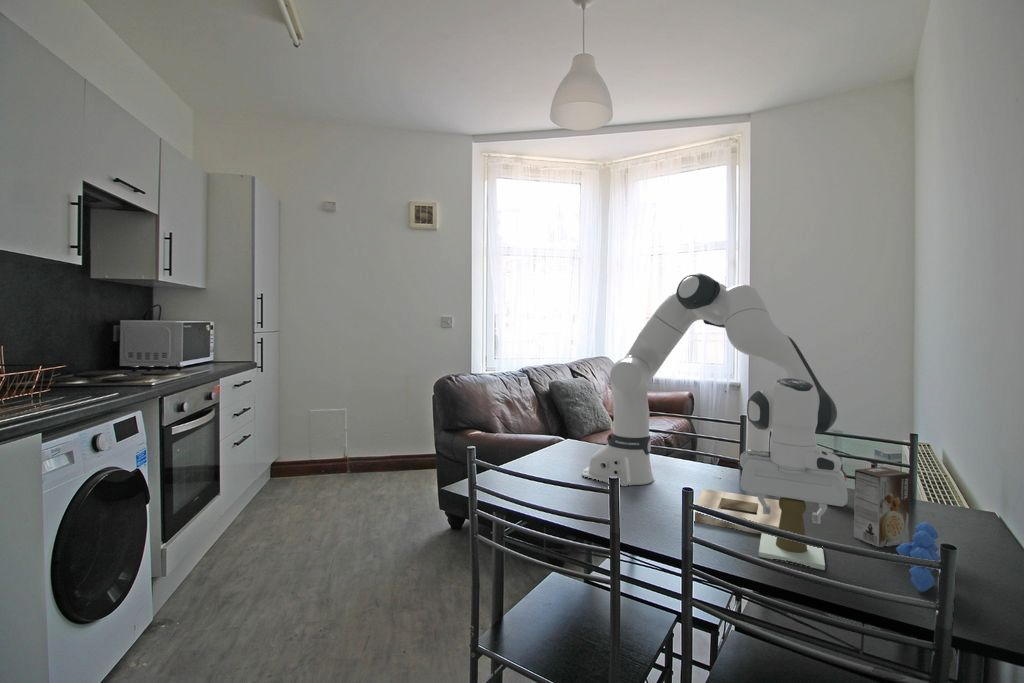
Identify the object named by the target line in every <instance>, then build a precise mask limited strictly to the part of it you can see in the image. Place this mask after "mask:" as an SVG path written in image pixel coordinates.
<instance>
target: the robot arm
mask: <svg viewBox="0 0 1024 683" xmlns="http://www.w3.org/2000/svg"><path fill="white" fill-rule="evenodd" d="M701 320H702V321H703V323H704V324H705V325H709V326H713V327H717V328H721V329H723V328H724V329H725V333H726V335H727V338H728V340H729V343H730V344H731V345H732V346H733V347H734V349H736V350H738V351H739V352H740V353H742V354H745V355H748V356H751V357H755V358H759V359H762V360H765V361H767V362H770V363H773V364H774V365H777V366H778V367H779V368H780V369H782V370H783V371H784V373H785V375H786V377H787V378H785V377H784V378H779V379H777V380H776V381H775V382H774V383H773V385H772V386H771V387H769V388H766V389H765V388H764V389H761V390H757V391H755V392H753V393H752V394H751V396H750V397H749V399H748V400H747V403H746V414H747V415H746V416H747V420H748V421H749V422H750V423H751V425H753V426H754V428H756V429H758V430H761V431H764V432H771V435H770V438H769V451H766V450H765V451H764V450H753V449H747V450H746V451H745V450H744V451H743V452H742V453H740V456H739V466H740V467H741V468H742V471H741V472H742V473H741V476H740V477H741V478H740V484H739V485H740V489H741V490H742V491H743V492H748V493H754V494H757V497H758V500H759V501H760V503H761V505H762V506H763V514H767V515H770V509H771V505H767V504H766V502H765V500H764V499H765V498H766V496H773V497H778V498H781V497H784V498H790V499H797V500H803V501H805V502H811V503H815V504H816V503H817V504H818V508H819V509H818V510H817V511H816V512H814V511H812V516H811V518H812V520H811V521H812V523H813V524H818V525H819V524H821V521H822V519H821V517H822V516H823V515H824V514H825V512H826V511H827V510H828V506H832V505H836V506H835V507H845V506H846V505H847V504H848V501H849V499H848V497H849V496H848V488H847V487H848V486H847V480H846V481H845V477H844V475H843V472H842V471H841V463H842V461H841V459H840V457H839V456H838V455H837V454H835V453H831V452H828V451H826V450H823V449H821V448H818V442H817V438H816V435H823V434H824V433H825V432H827V431H828V430H829V429H831V427H832V426H833V425H834V424H835V422H836V420H837V417H838V416H837V415H838V412H837V407H836V404H835V402H834V400H833V399H832V397H831V396H830V394H829V393H828V392H827V391H826V390H825V389H824V388H823V386H822V385H821V384H820V382H819V380H818V378H817V377H816V375H815V373H814V372H813V370H812V368H811V366H810V365H809V363H808V361H807V360H806V357H805V356H804V355H803V353H802V352H801V349H800V347H799V346H798V345H797V343H796V342H795V341H794V340H793V339H792V338H791V337H790V336H788V335H786V334H785V333H784V332H783V331H782V330H780V328H778V326H777V325H776V324H775V323H774V321H773V320H772V318H771V315H770V312H769V310H768V308H767V306H766V304H765V302H764V300H763V298H762V296H761V294H760V293H759V292H758V290H756V288H755V287H753V286H751V285H749V284H736V285H733V286H731V287H729V288H728V287H727V286H725V285H724V284H722V283H720V282H719V281H717V280H716V279H714V278H713V277H711V276H709V275H706V274H704V273H700V272H693V273H689V274H688V275H686V276H685V277H683V279H681V281H680V282H679V284H678V286H677V288H676V290H675V291H673V292H672V293H671V294H670V295H669V296H668V297H667V298H665V300H664V301H663V302H662V303H661V304H660V306H658V308H657V309H656V310H655V312H654V313H653V314H652V316H651V317H650V318H649V320H648V321H647V323H646V324H645V325H644V327H643V328H642V329H641V330H640V332H639V333H638V335H637V337H636V339H635V341H634V342H633V344H632V346H631V348H629V350H628V352H627V353H626V355H625V356H624V357H623V358H621V359H618V361H616V362H614V364H613V366H612V367H611V369H610V373H609V379H610V386H611V387H610V388H611V389H610V390H611V396H612V397H611V398H612V405H613V406H612V407H613V431H612V430H611V432H609V434H607V436H606V441H607V444H606V445H604V446H602V448H600V449H598V450H596V452H593V454H592V455H591V458H590V460H589V465H588V466H587V467H585V468H584V469H583V470H582V471H581V476H582V475H583V476H585V477H588V478H587V479H589V478H592V479H591V480H594V479H596V480H595V481H598V480H599V482H602V481H603V482H602V483H606V484H609V483H608V477H609V476H617V477H619V478H620V484H621V487H628V485H629V486H637V485H638V486H639V485H647V484H651V483H653V482H654V481H655V478H654V475H653V470H652V466H651V458H650V457H651V456H650V453H651V450H652V449H651V447H652V443H651V442H652V441H651V435H650V408H649V397H648V396H649V395H648V384H649V383H650V382H652V379H653V378H654V376H655V375H656V373H658V371H659V369H660V368H661V367H662V365H663V364H664V362H665V361H666V360H667V358H668V357H669V355H670V354H671V353H672V351H673V350H674V349H675V347H676V346H677V344H678V343H679V342H680V341H681V339H682V338H683V337H684V336H685V334H686V332H687V331H688V330H689V328H690V327H691V326H692V325H693V323H695V322H697V321H701ZM583 476H582V477H583ZM585 477H584V478H585ZM828 504H829V505H828Z"/></svg>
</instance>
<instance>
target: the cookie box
mask: <svg viewBox="0 0 1024 683" xmlns="http://www.w3.org/2000/svg"><path fill="white" fill-rule="evenodd" d="M910 505H911V473H909V472H905V471H903V470H901V471H900V470H898V469H894V468H890V467H886V466H880V467H879V466H878V467H876V466H875V467H868V468H860V469H859V468H858V469H854V507H853V508H854V509H853V510H854V511H853V512H854V516H853V518H854V520H853V538H856V539H858V540H860V541H862V542H865V543H867V544H870V545H871V544H872V546H874V545H875V546H874V547H876V546H878V547H881V548H884V547H883V546H887V547H893V546H899V545H901V544H902V543H906V542H907V543H909V544H910V507H911V506H910ZM892 545H893V546H892ZM878 547H877V548H878Z"/></svg>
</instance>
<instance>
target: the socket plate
mask: <svg viewBox="0 0 1024 683" xmlns="http://www.w3.org/2000/svg"><path fill="white" fill-rule="evenodd" d="M764 500H765V502H766V504H767V505H771V509H770V515H767V514H763V506H762V505H761V503H760V501H759V500H758V496H752V495H746V494H739V493H736V492H735V493H733V492H727V491H723V490H722V491H720V490H716V489H715V490H714V489H710V488H702V490H701V492H700V494H699V496H698V498H697V500H696V501H695V503H694V505H699V506H704V507H707V508H711V509H715V510H718V511H721V512H724V513H728V514H731V515H735V516H738V517H742V518H745V519H747V520H751V521H754V522H757V523H761V524H764V525H768V526H771V527H775V528H779V522H780V516H781V511H782V510H781V509H780V507H779V499H773V498H767V497H765V499H764ZM723 508H725V509H723ZM729 509H732V510H729ZM736 510H737V511H736ZM738 510H739V511H738ZM741 511H744V512H741ZM747 512H750V513H747ZM755 512H756V514H753V513H755ZM698 522H699V524H705V525H709V524H710V526H714V525H715V526H716V527H721V528H725V527H728V528H727V529H730V527H731V528H734V529H733V530H736V529H737V530H736V531H741V530H742V531H743V532H747V533H752V534H758V535H761V534H762V533H760V532H756V531H753V530H750V529H747V528H744V527H741V526H738V525H735V524H732V523H729V522H726V521H723V520H719V519H716V518H713V517H711V516H708V515H704V514H701V513H698V512H695V522H694V523H698ZM715 526H714V527H715Z"/></svg>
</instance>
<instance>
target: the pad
mask: <svg viewBox="0 0 1024 683" xmlns="http://www.w3.org/2000/svg"><path fill="white" fill-rule="evenodd" d="M776 539H777V537H775V536H771V535H768V534H764V533H762V534H760V541H759V548H758V558H759V557H760V558H764V559H769V560H773V559H781V560H785V561H786V560H788V561H792V562H797V563H801V564H804V565H806V566H805V567H807V566H810V567H809V568H812V569H813V568H814V569H817V570H822V571H825V570H826V563H825V555H824V548H823V549H822V548H817V547H813V546H809V545H807V551H806V552H804V553H793V552H788V551H785V550H782V549H780V548H779V547H777V546H776Z"/></svg>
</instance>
